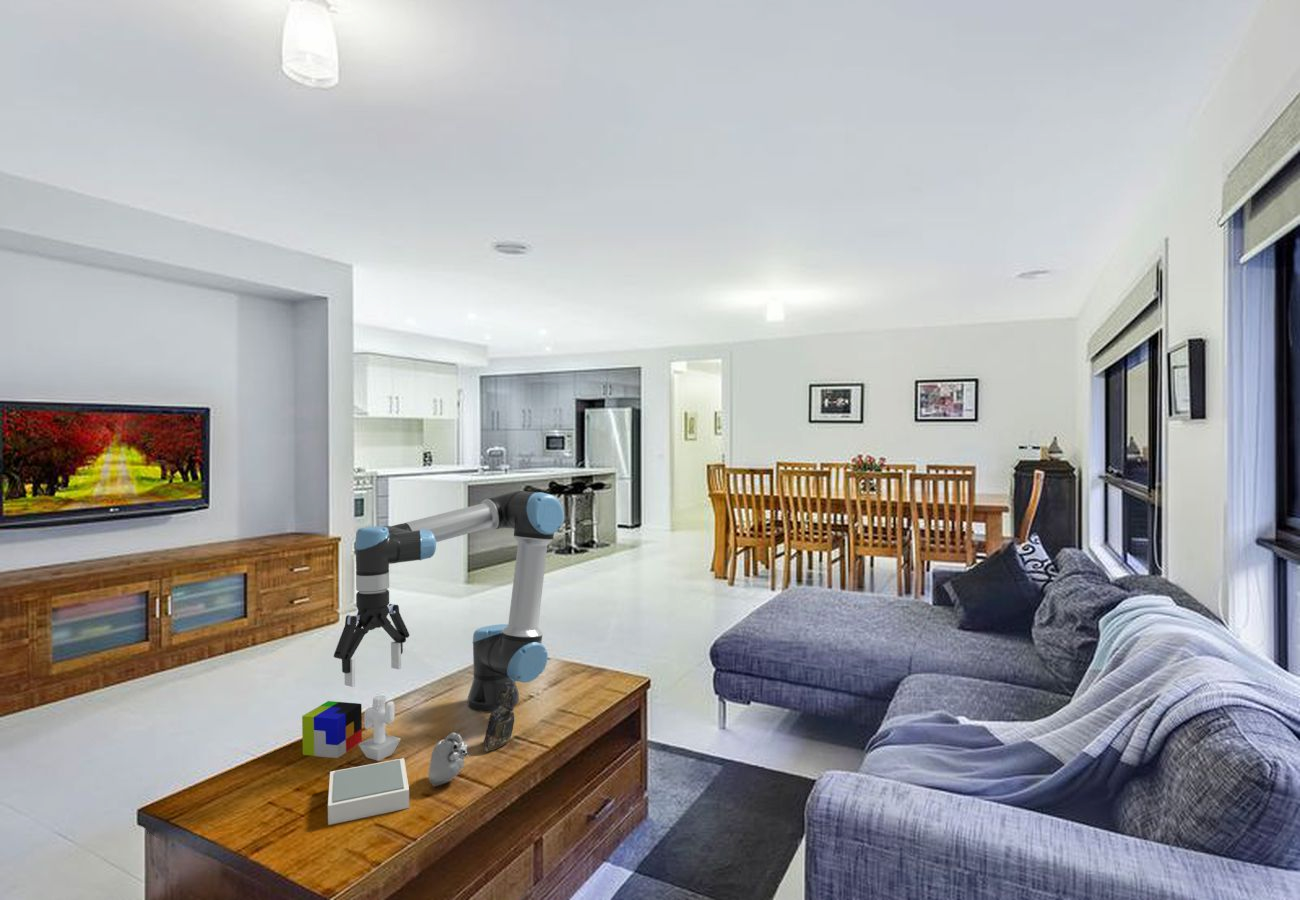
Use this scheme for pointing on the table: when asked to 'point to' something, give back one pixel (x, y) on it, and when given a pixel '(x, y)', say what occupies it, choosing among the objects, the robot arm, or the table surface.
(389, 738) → the figurine
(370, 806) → the plinth
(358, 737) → the puzzle toy
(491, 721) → the statue
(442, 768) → the heart
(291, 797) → the table surface
